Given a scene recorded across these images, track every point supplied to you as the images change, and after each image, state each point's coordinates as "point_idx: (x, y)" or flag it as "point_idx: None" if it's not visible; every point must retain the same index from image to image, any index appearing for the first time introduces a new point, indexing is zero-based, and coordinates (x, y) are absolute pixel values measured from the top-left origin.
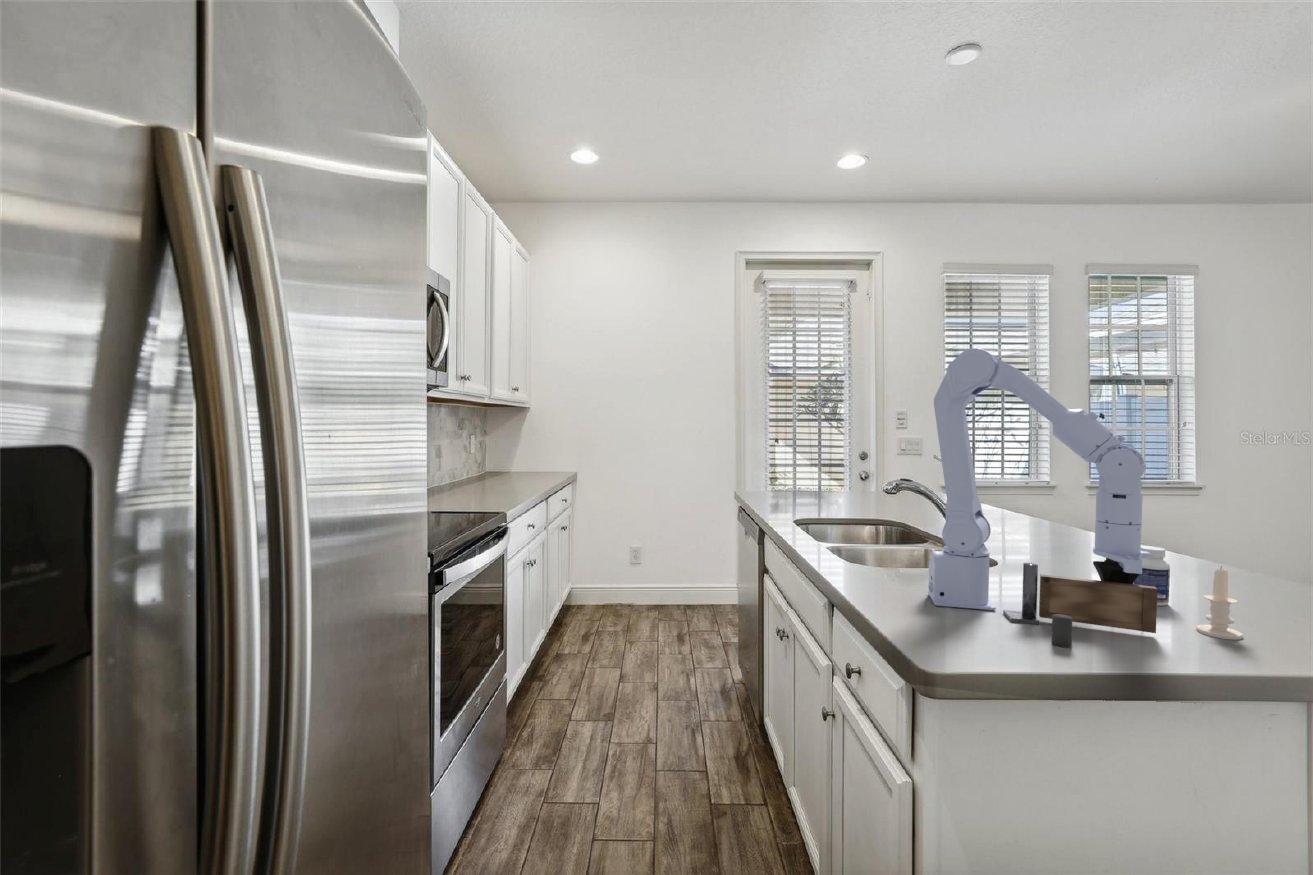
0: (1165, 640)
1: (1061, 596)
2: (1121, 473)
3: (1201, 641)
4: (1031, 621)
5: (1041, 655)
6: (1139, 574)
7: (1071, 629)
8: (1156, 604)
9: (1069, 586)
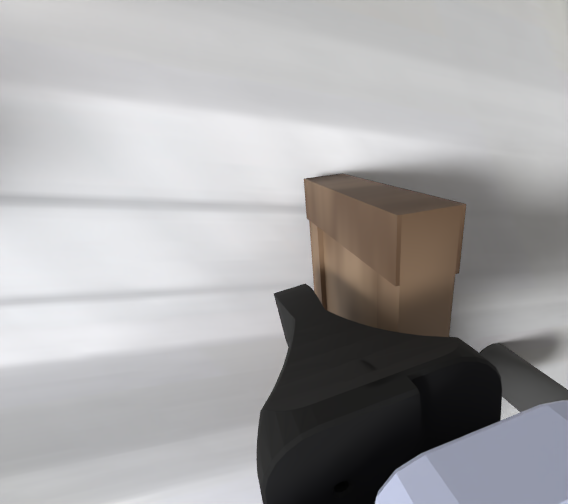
0: (333, 143)
1: None
2: None
3: (271, 12)
4: None
5: (562, 373)
6: (451, 338)
7: (539, 371)
8: (401, 190)
9: None
